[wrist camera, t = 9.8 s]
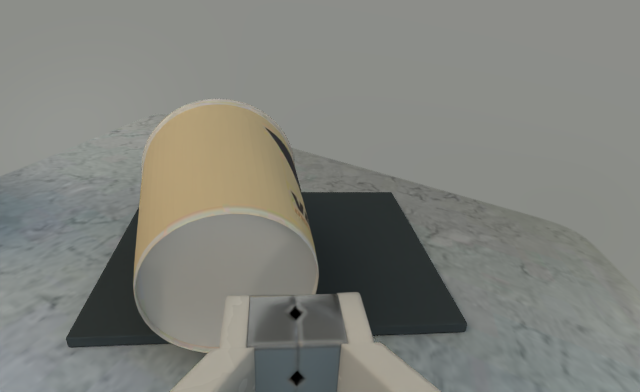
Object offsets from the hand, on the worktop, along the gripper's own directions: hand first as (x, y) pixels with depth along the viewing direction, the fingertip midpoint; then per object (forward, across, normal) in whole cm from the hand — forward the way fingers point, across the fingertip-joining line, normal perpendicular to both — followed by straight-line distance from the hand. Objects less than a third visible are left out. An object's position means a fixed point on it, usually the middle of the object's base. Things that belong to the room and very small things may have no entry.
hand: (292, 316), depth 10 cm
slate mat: (+17, 0, +10) cm, 20 cm away
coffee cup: (+7, +2, +5) cm, 9 cm away
